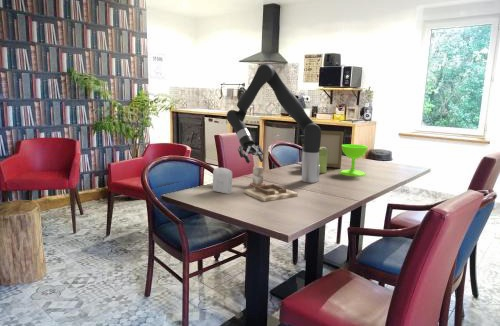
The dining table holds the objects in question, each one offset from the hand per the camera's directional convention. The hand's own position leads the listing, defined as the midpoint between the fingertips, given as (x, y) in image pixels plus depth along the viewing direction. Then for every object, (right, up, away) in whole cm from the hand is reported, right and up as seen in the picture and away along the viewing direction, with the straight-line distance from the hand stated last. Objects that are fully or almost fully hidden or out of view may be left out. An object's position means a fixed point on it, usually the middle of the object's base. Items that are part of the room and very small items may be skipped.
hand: (255, 161), depth 202 cm
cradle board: (+7, -16, -18) cm, 25 cm away
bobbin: (+1, -13, 0) cm, 13 cm away
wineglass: (+63, -8, +35) cm, 72 cm away
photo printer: (-17, -15, -16) cm, 28 cm away
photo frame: (+50, -3, +60) cm, 78 cm away
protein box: (+39, -6, +41) cm, 57 cm away
